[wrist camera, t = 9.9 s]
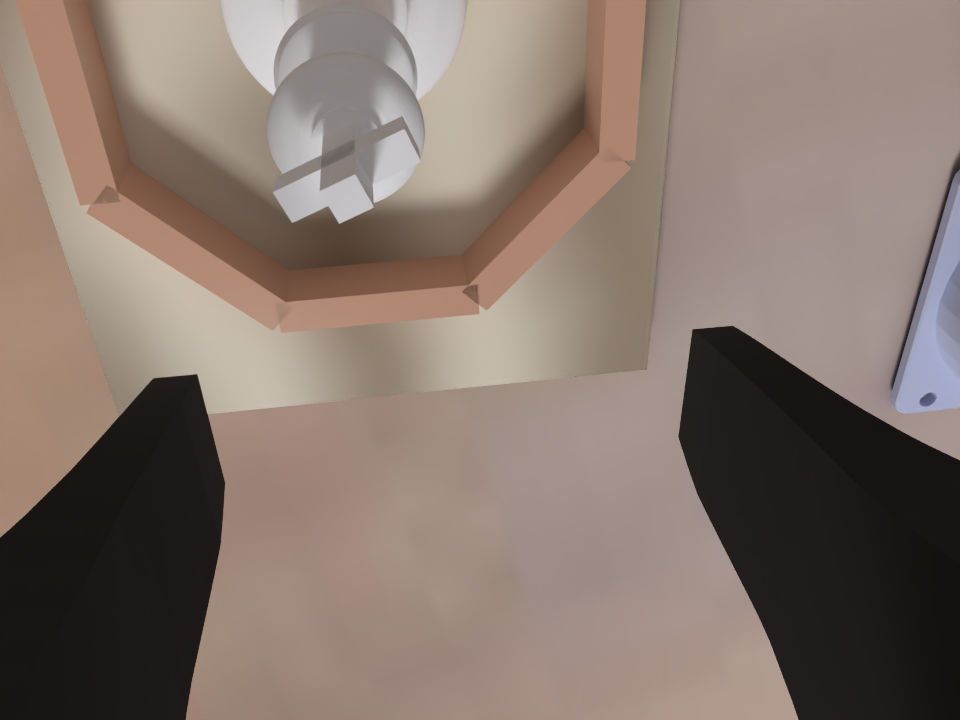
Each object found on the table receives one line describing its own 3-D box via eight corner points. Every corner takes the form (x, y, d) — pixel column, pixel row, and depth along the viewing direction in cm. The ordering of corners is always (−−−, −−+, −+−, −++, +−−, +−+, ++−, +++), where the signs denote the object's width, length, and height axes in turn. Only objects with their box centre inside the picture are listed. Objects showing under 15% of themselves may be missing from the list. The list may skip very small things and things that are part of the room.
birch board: (709, -546, 15) (731, -564, 14) (636, 349, 25) (647, 369, 24) (-175, -535, 14) (-208, -554, 13) (128, 400, 24) (121, 423, 23)
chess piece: (503, 54, 19) (626, 282, 11) (300, 153, 20) (268, 439, 11) (400, -195, 16) (457, -143, 8) (168, -69, 17) (-1, 95, 9)
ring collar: (642, -308, 16) (667, -313, 14) (609, 270, 22) (625, 300, 21) (-40, -283, 15) (-75, -286, 13) (137, 313, 21) (124, 347, 20)
